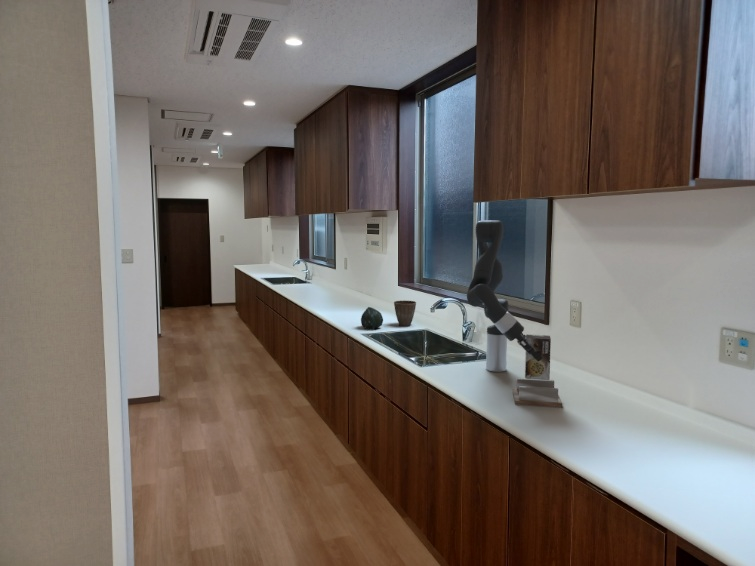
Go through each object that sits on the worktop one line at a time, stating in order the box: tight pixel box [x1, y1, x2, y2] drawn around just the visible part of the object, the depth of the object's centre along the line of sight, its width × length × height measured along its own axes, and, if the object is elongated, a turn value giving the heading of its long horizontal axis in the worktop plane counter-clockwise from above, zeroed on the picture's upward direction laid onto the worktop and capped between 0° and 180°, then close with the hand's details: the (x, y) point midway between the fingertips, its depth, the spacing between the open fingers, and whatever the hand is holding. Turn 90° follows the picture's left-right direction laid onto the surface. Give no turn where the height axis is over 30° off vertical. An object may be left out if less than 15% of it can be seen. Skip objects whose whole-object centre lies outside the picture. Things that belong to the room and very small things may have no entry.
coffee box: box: [524, 334, 552, 380], centre depth 200 cm, size 9×6×16 cm
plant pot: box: [393, 300, 417, 327], centre depth 351 cm, size 15×15×16 cm
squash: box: [360, 306, 384, 330], centre depth 342 cm, size 14×15×15 cm
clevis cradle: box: [512, 377, 563, 408], centre depth 201 cm, size 14×17×6 cm
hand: (539, 357), depth 200 cm, fingers closed on coffee box, 6 cm apart
